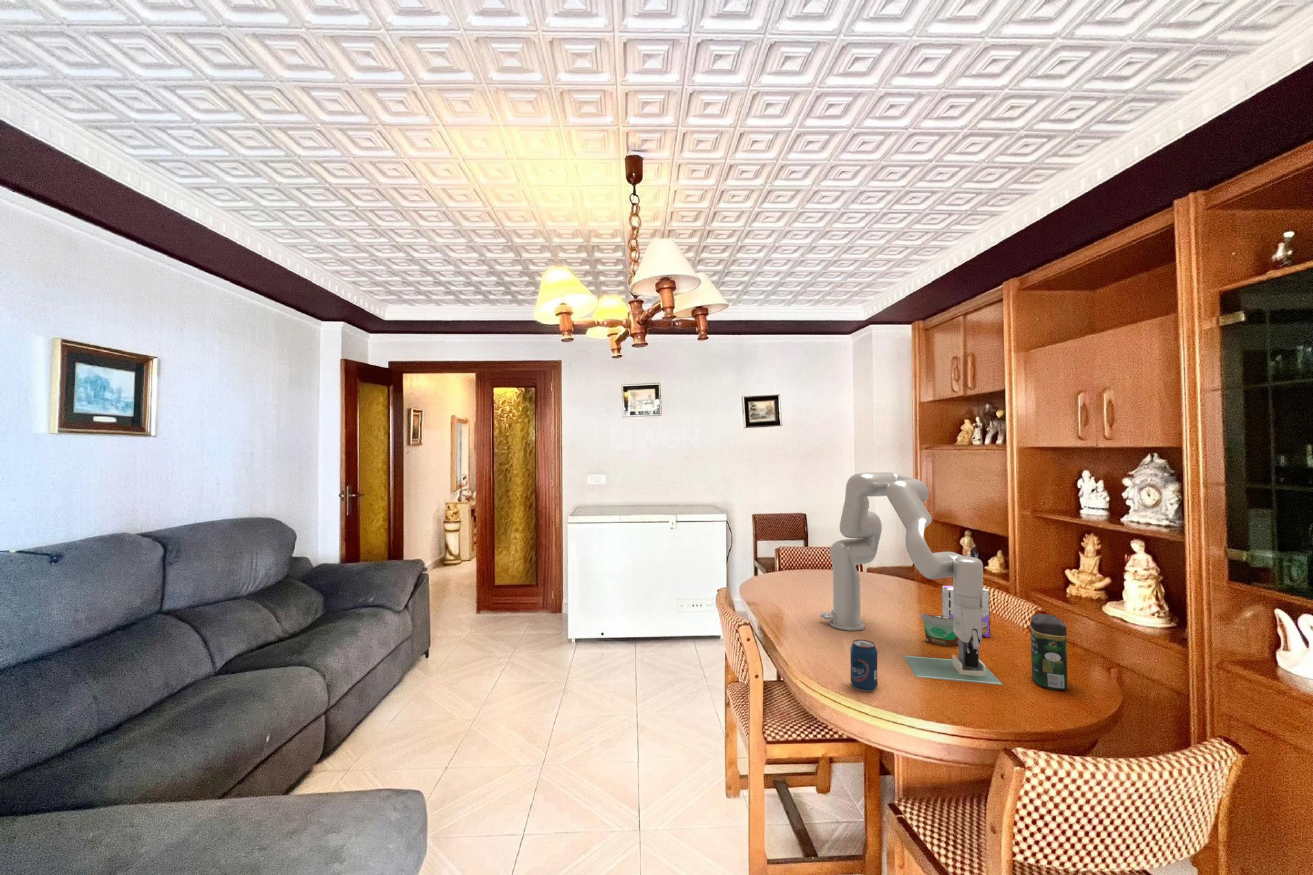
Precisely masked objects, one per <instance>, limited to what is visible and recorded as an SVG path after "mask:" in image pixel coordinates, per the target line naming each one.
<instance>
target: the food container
mask: <svg viewBox="0 0 1313 875" xmlns="http://www.w3.org/2000/svg"><path fill="white" fill-rule="evenodd" d="M920 618H921V620H923V626H924V627H923V628H924V635H925V641H926V642H930V643H932V644H935V645H939V646H946V647H952V646H957V645H959V638H958V637H957V636H956V635H955V633H954V632H953V619H954V618H949V617H945V616H942V615H940V614H939V615H933V614H932V615H931V614H926V613H924V612H921V616H920Z"/></svg>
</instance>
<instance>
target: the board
mask: <svg viewBox="0 0 1313 875" xmlns="http://www.w3.org/2000/svg"><path fill="white" fill-rule="evenodd" d="M902 656H903V658H904V660H905V661H906V663H907V664H908V666H909V668H910V669H911V671H912V673H913V674H914V676H915V677H916V678H921V679H923V678H924V679H934V680H943V681H956V682H967V683H974V684H975V683H977V684H987V685H999V686H1004V684H1003V682H1001V681H1000V679H999V678H997V677H996V676H995V674H994V673H993V672H992V671H991V670H990V669H989V668H988V667H987V666H986V677H984V676H973V675H961V674H959V672H958V671H957V670H956V669H955V667H954V666H953V658H942V657H941V658H939V657H928V656H917V655H916V656H915V655H906V654H905V655H904V654H903V655H902ZM965 669H966V670H970V668H965ZM962 670H964V669H963V667H962ZM972 670H973V671H978V670H977V669H972Z"/></svg>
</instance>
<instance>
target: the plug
mask: <svg viewBox="0 0 1313 875" xmlns="http://www.w3.org/2000/svg"><path fill="white" fill-rule="evenodd" d="M969 642H972V640H969ZM970 646H972V644H969V647H970ZM965 652H966V643H964V642H962V641H961V640H960V639H958V660H959V661H960V662H961V663H962V667H963V668H970V669H979V659H980V654H979V653H980V648H979V649H978V667H977V668H975V667H966V666H965Z"/></svg>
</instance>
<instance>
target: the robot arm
mask: <svg viewBox="0 0 1313 875" xmlns="http://www.w3.org/2000/svg"><path fill="white" fill-rule="evenodd" d="M844 493H845V496H844V504H843V507H842V513H841V516H840V521H839V532H840V533H841V535H842V536H843V537H844V538H846V539H839V540H837V541H835V542H834V543H832V545H831V546H830V550H829V554H830V556H829V557H830V560H831V565H832V592H833V593H832V594H833V595H832V601H833V602H832V608H833V609H831V611H829V612H826V611H820V612H819V613H820V618H824V620H828V625H830V627H833V628H834V629H835V628H836V629H838V630H843V631H848V632H849V631H851V632H852V631H853V632H854V631H855V632H856V631H862V630H864V629H866V624H865V622H863V621H862V619H861V577H860V576H861V575H860V573H859V571H858V570H857V567H856V566H858V565H865V564H870V563H871V562H873V561H874V559H875V558H876V556H877V552H878V548H879V544H880V540H881V535H882V530H883V527H882V526H883V525H882V520H881V519H880V517H879V516H878V514H876V512H873V511H870V510H869V508H870V500H869V497H886V498H887V499H888V501H889V502H890V504H891V506H892V507H893V509H894V511H895V512H896V514H897V516H898V518H899V520H900V521H901V522H902V524H903V526H904V529H905V531H906V532H905V548H906V551H907V553H908V557H909V558H910V560H911V562H912V563H913V565H914V566H915V568H916V569H917V571H918V572H919V574H921V575H922V576H923V577H925V578H926V579H928V580H929V579H930V580H937V579H943V578H944V579H945V578H953V581H952V582H953V585H952V586H953V604H954V605H955V606H954V619H953V632H954V633H955V635H956V636H957V637H958V638H959V639H960V640H961V641H962V642H964V643H966V652H965V666H966V667H975V668H977V667H978V649H979V650H980V645H981V644H982V641H983V637H982V620H981V610H980V609H982V608H983V588H984V564H983V561H982V560H981V559H980V558H977V557H972V556H965V555H961V554H959V553H957V552H953V551H940V552H939V551H938V552H932V551H931V549H930V547H929V546H928V544H927V542H926V539H925V529H926V528H927V527H928V526H929V525H931V523H932V522H933V519H932V516H931V514H930V513H929V511H928V510H927V507H926V506H925V505H924V503H925V502H927V501H928V499H929V497H930V496H929V495H930V491H929V489H928V486H927V485H926V483H924V482H923V481H922V480H920V479H917V478H914V477H910V476H907V475H904V474H903V475H902V474H901V473H896V472H890V471H887V472H886V471H884V472H880V471H879V472H877V471H876V472H872V471H871V472H869V471H868V472H859V473H855V474H853V475H851V476H850V477H849V478H848V479H847V482H846V484H845V492H844ZM959 639H958V640H959ZM969 640H972V642H969ZM969 644H972V646H970V647H969Z"/></svg>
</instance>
